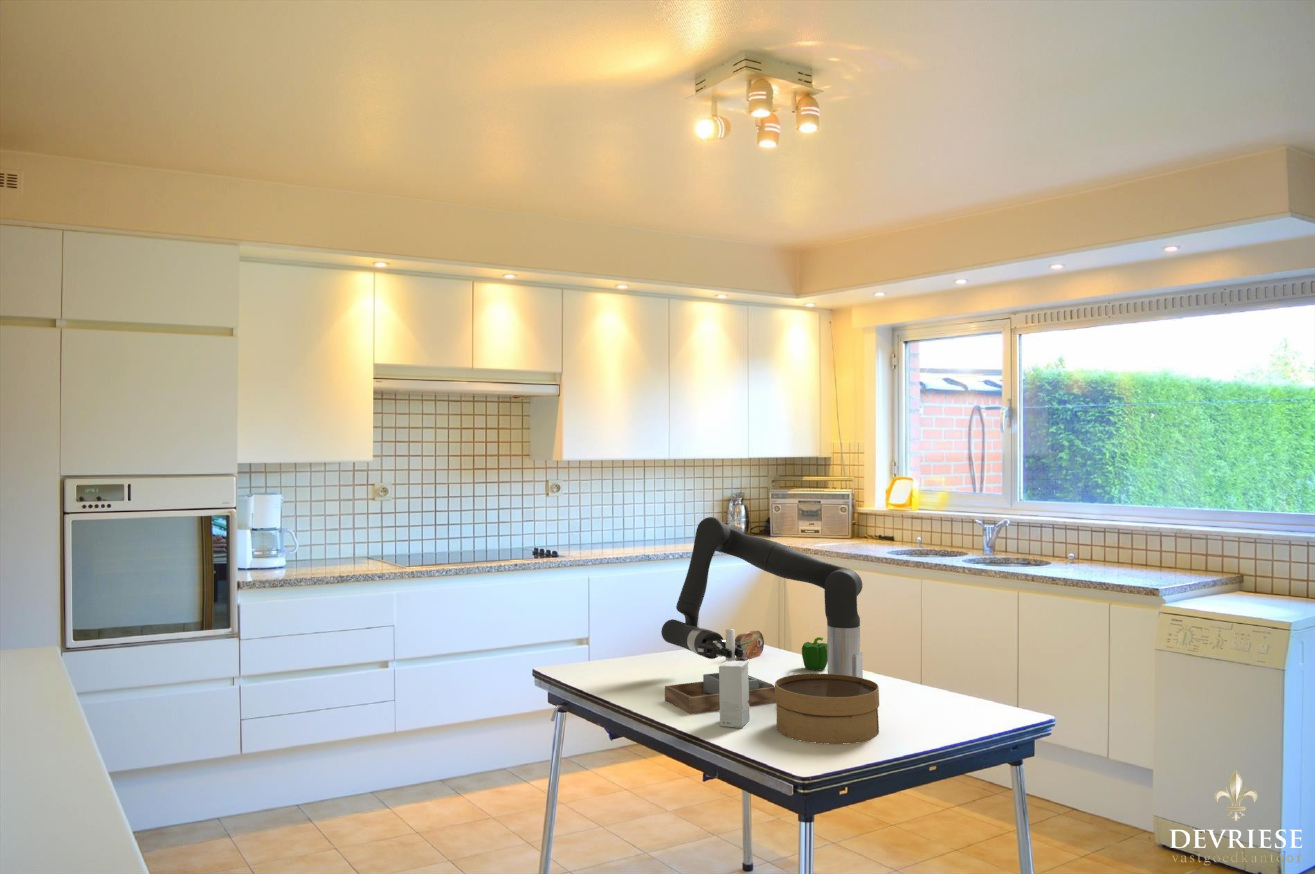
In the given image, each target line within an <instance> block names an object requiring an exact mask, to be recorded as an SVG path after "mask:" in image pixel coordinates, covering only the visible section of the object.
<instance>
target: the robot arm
mask: <svg viewBox="0 0 1315 874" xmlns="http://www.w3.org/2000/svg"><path fill="white" fill-rule="evenodd" d="M694 536H695V537H694V540H693V541H694V542H693V547H692V553H691V558H690V562H689V566H688V570H687V573H686V576H685V580H684V583H683V585H682V587H681V592H680V594H679V597H678V599H677V603H676V606H675V608H676V611H677V612H679V613H680V614H681V615H683V616H684V619H685V622H683V621H680V620H678V619H668V620H667V621H666V622H664V624H663V625H662V627H661V632H660V633H661V637H662V639H663V641H665V642H666V643H669V644H671V645H674V646H677V647H680V648H683V649H686V650H687V651H690V652H693V653H694V654H696V655H698V656H701V657H704V658H706V659H709V660H715V659H716V658H719V657H720V658H721V657H722V658H723V657H724V658H726V657H727V658H732V651H731V650H730V649H727V648H726V639H724V638H723V636H722V635H721V634H720V633H718V632H716V631H713V630H709V629H707V628H703V627H699V626H698V624H699V614H700V610H701V606H702V604H703V601H704V598H705V595H706V592H707V587H708V586H707V585H708V578H709V571H710V566H711V562H712V559H713V557H714V554H715V553H716V552H717V553H721V554H725V555H729V556H733V557H736V558H739V559H741V560H743V561H745V562H746V563H749V564H750V565H752V566H754V567H756V568H757V569H760V570H762V571H764V572H767V573H768V574H772V575H774V576H777V577H779V578H783V579H786V580H790V581H796V582H803V583H808V584H810V585H811V584H812V585H814V586H817V587H819V588H822V589H823V590H824V591H823V592H824V612H825V613H824V614H825V618H826V623H827V624H826V625H827V626H826V629H827V631H826V632H827V633H826V636H827V638H826V639H827V640H826V641H827V643H826V644H827V674H838V675H847V676H853V677H859V678H863V679H864V677H863V676H864V675H863V673H864V671H863V669H864V668H863V667H864V666H863V665H864V664H863V660H864V659H863V652H862V651H861V619H860V618H861V617H860V615H859V613H858V596H859V595H860V594H861V592H862V590H863V580H862V578H861V576H860V575H859V574H858V573H857V572H856V571H855V570H853V569H851V568H847V567H845V566H844V567H843V566H841V565H840V566H839V565H835V564H832V563H828V562H825V561H822V560H820V559H817V558H815V557H813V556H811V555H809V554H806V553H804V552H802V551H800V550H797V549H794V548H792V547H790V546H787V545H785V544H782V543H780V542H777V541H773V540H770V539H766V538H763V537H762V538H761V537H756V536H752V535H751V536H750V535H748V534H745V533H742V532H741V531H739V530H736V529H735V528H733V527H731V526H729V525H728V524H726V523H725V522H723V521H722V520H720V519H719V518H717V517H714V516H709V517H705V518H704V519H702V520H701V521H700V522H699V523H698V525H697V527H696V531H695V535H694ZM742 655H743V650H742V649H741V643H740V641H736V642H735V657H736V656H738V657H742Z"/></svg>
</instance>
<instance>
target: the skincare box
mask: <svg viewBox="0 0 1315 874" xmlns="http://www.w3.org/2000/svg"><path fill="white" fill-rule="evenodd" d="M718 673H719V699H720V710H719V726H720V727H726V728H727V727H728V728H737V729H743V728H744V727H745V725H746V724H747V723H748V722H749V721H750V706H749V681H748V675H749V660H735V661H726V660H725V662H722V663H721V664H720V665H719V666H718Z"/></svg>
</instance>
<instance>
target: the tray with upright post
mask: <svg viewBox="0 0 1315 874" xmlns="http://www.w3.org/2000/svg"><path fill="white" fill-rule="evenodd" d="M735 638H736V629H734V628H725V640H726V648H727V649H730V650H731V651H732V658H727V657H725V662H726V661H736V656H735ZM750 676H751V675H749V676H748V681H749V690H753V689H759V680H760V679H759V680H757V679H758V678H757V679H755V678H756V677H754V678H752V677H753V676H752V677H750ZM702 679H703V693H705V694H707V695H712V694H719V672H714V673H713V672H712V673H704V674H703V675H702Z"/></svg>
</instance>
